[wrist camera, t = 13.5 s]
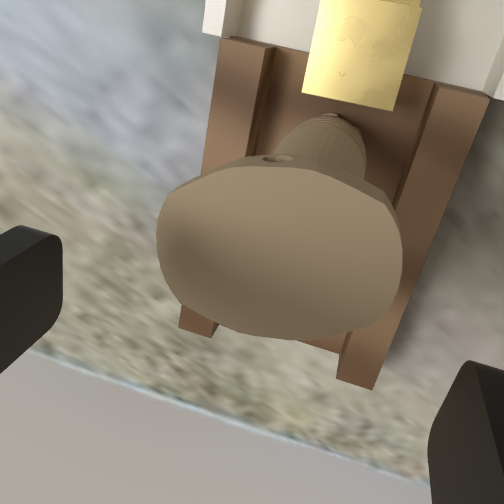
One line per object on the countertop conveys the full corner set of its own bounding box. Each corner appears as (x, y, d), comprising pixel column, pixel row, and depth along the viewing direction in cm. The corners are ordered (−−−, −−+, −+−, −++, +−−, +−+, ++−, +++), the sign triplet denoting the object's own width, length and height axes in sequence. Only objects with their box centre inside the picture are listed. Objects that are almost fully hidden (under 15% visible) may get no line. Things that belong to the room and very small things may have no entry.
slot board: (240, 36, 26) (214, 36, 22) (479, 90, 24) (497, 100, 20) (198, 292, 34) (174, 326, 30) (378, 347, 32) (377, 391, 28)
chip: (331, 1, 23) (322, -10, 19) (415, 16, 22) (422, 7, 19) (312, 87, 24) (301, 92, 21) (390, 104, 24) (392, 111, 20)
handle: (389, 189, 26) (392, 352, 12) (273, 184, 27) (166, 325, 14) (398, 95, 24) (413, 171, 10) (271, 95, 25) (146, 162, 12)
